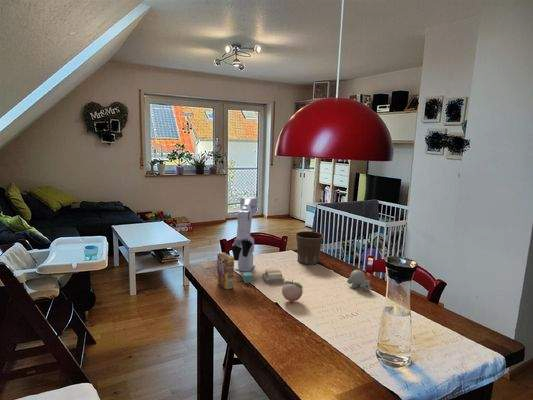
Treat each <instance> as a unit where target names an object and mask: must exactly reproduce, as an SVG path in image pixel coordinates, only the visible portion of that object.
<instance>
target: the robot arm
mask: <svg viewBox="0 0 533 400" xmlns="http://www.w3.org/2000/svg"><path fill="white" fill-rule="evenodd" d="M239 201H240V203H239V207H240V210H238V211H237V228H236V236H235V237H236V238H234V239H233V240H234V242H233V243H232V245H230V250H231V252H232V256H233V257H234V261H236V262H237V267H234V271H235V270H236V271H240V272H241V271H242V272H251V270H252V269H254V267H255V264H254V252H255V238H254V237H252V236H251V232H252V231H251V229H252V221H253V215H255V214H256V213H257V210H258V197H257V196H241V197H240V199H239Z"/></svg>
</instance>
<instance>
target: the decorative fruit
mask: <svg viewBox="0 0 533 400" xmlns="http://www.w3.org/2000/svg"><path fill="white" fill-rule="evenodd" d="M281 287H282V288H281V294H282V296H283V298H284V299H285V300H287V301H288V302H289V301H290V302H291V303H292V302H296V301H298V300H299V299H300V298H301V297H302V295H303V291H304V290H303V289H304V287H303V285H302V284H301V283H300V282H296V281H295V282H294V280H293V279H292V281H291V280H284V282H283V283H282V286H281Z"/></svg>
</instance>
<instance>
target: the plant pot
mask: <svg viewBox="0 0 533 400" xmlns="http://www.w3.org/2000/svg"><path fill="white" fill-rule="evenodd" d="M295 237H296V238H295V239H296V245H297V246H296V247H297V261H298V263H300V264H304V265H306V264H307V265H308V266H309V265H311V266H314V265H316V264H318V263H319V261H320V255H321V248H322V243H323V240H324V239H323V238H324V237H325V235H324V234H323V233H320V232H316V231H310V230H309V231H307V230H306V231H303V230H302V231H297V232H296V233H295Z"/></svg>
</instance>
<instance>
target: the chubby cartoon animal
mask: <svg viewBox="0 0 533 400" xmlns="http://www.w3.org/2000/svg"><path fill="white" fill-rule="evenodd" d="M346 283H348V284H350V285H351V287H352V288H353V289H357V288H360V287H361V288H363V290H364V291H365V292H367V293H368V292H370V291H371V290H372V287H371V286H370V283H371V280H368V279H366V274H365V273H364V272H363V271H362V270H360V269H354V270H352V272H350V276H349V277H348V278H347V280H346Z"/></svg>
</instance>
